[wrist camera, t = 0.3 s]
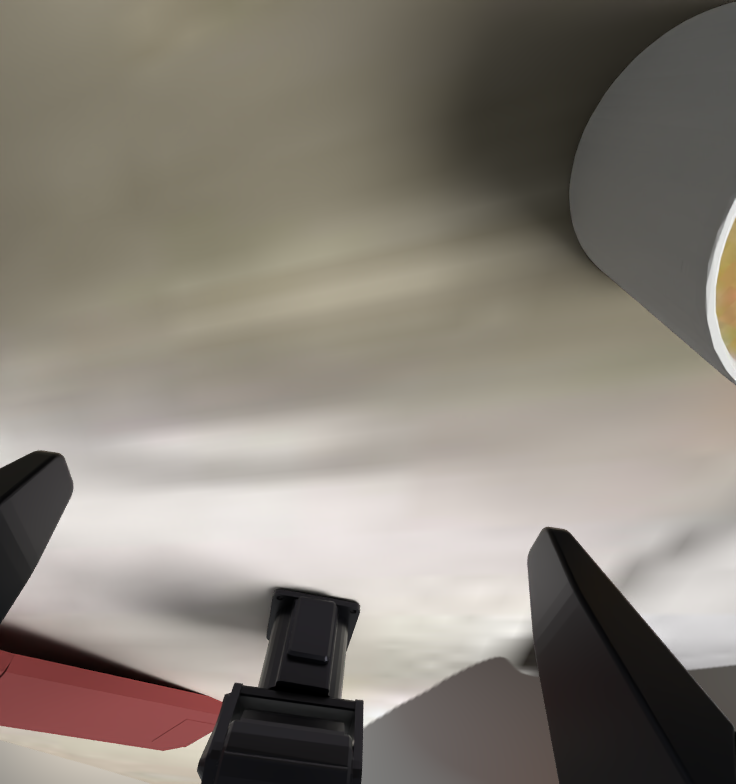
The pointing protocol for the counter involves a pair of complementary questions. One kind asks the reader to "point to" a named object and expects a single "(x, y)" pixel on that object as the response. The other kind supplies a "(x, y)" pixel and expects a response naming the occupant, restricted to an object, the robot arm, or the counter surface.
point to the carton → (100, 705)
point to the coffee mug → (669, 183)
